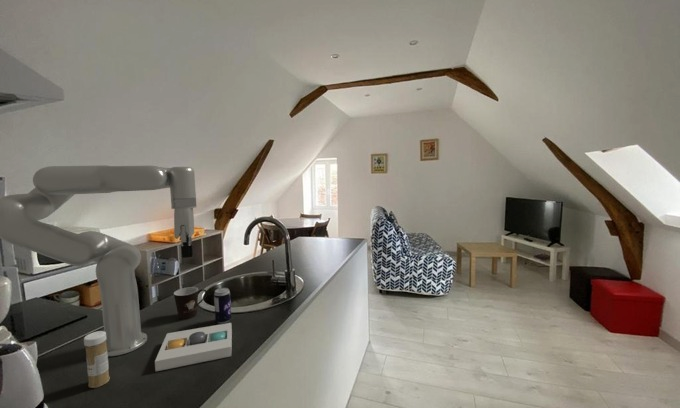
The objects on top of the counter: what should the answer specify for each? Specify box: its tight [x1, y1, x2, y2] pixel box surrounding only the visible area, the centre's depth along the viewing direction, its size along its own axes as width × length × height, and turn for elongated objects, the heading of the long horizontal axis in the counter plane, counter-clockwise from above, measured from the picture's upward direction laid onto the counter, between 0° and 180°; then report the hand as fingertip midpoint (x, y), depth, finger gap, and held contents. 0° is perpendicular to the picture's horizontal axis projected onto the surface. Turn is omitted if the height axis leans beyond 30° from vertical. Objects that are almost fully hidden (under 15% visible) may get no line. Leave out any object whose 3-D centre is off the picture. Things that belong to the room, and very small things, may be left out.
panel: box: [154, 322, 233, 372], centre depth 94 cm, size 20×16×3 cm
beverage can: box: [213, 287, 232, 325], centre depth 112 cm, size 6×6×12 cm
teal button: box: [210, 332, 225, 342], centre depth 96 cm, size 4×4×2 cm
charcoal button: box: [189, 332, 205, 346], centre depth 94 cm, size 4×4×2 cm
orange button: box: [168, 339, 185, 350], centre depth 92 cm, size 4×4×2 cm
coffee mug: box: [173, 286, 208, 320], centre depth 118 cm, size 12×9×10 cm
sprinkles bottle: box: [83, 330, 111, 389], centre depth 79 cm, size 5×5×14 cm
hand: (187, 256), depth 102 cm, fingers closed
